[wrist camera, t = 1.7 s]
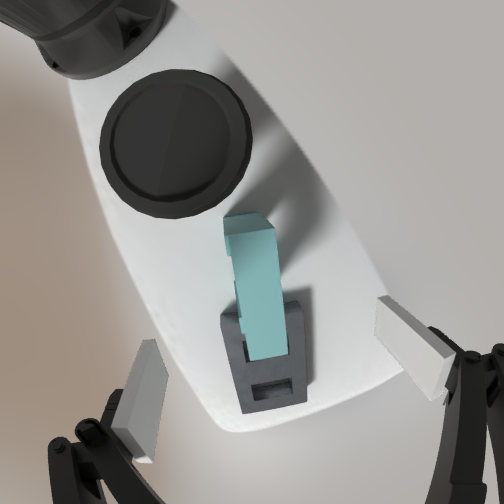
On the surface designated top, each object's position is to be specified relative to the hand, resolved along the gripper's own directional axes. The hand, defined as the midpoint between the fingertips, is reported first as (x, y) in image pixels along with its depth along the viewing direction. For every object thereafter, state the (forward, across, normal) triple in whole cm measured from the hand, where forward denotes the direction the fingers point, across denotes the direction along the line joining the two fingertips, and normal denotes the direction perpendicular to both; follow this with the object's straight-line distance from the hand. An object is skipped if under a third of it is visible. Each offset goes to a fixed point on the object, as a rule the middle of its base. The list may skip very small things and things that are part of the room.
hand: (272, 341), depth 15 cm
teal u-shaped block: (+15, 0, 0) cm, 15 cm away
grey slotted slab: (+16, 0, -14) cm, 21 cm away
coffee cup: (+15, -4, +12) cm, 20 cm away
